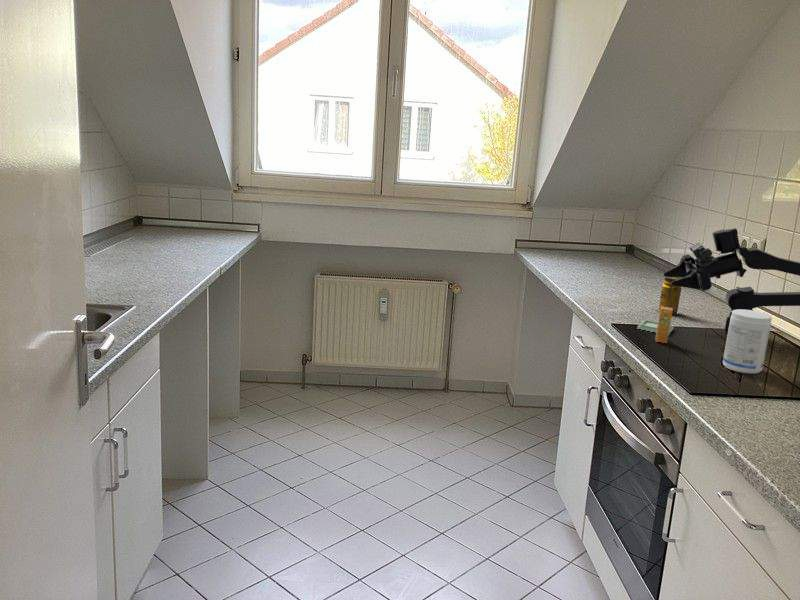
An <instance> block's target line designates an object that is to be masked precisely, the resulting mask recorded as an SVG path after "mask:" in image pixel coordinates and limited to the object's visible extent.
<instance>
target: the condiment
mask: <svg viewBox="0 0 800 600" xmlns="http://www.w3.org/2000/svg"><path fill="white" fill-rule="evenodd" d="M664 277H665V276H664ZM680 278H681V277H665V278H664V281H663V284H662V286H661V293H660V297H659V298H660V299H659V302H658V305H659V306H658V310H659V312H660V309H661V306H663V307H668V308H673V311H672V316H680V317H681V316H687V315H686V314H684V313H682V312H680V311H679V312H678V314H677V311H678V310H679V304H680V299H681V292H682V287H680V286H673V285H672V281H675V280H677V279H680ZM659 312H658V313H659ZM676 314H677V315H676Z"/></svg>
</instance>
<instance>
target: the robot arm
mask: <svg viewBox="0 0 800 600" xmlns="http://www.w3.org/2000/svg"><path fill="white" fill-rule="evenodd" d="M738 235H739V232H738V228H736V227H735V228H734V227H733V228H729V229H719V230H717V231H714V232H712V238H713V241H714V242H713V243H714V247H715V250H716V252H720V254H721V255H720V256H713V251H712V250H711V249H710V248H709V247H708V248H705V247H704V245H703V244H702V243H700V242H696V243H695V244H693V245H691V246H690V247H689V250H690V251H691V252H692V253H693V255H694V256H695V258H694V257H693V256H691V255H690V254H685V255H682V256H681V258H680V261H679V263H678V264H677V265H675V266H674V267H672V268H670V269H669V270H666V271H665V272H664V273H663V276H664V277H676V278H680V279H677V280H675V281H672V285H673V286H680V287H681V288H688V289H694V290H698V291H700V290H701V291H702V292H705V291H708V290H710V289H711V288H712V280H711V279H713V278H715V279H717V280H718V279H721V278H722V277H721V276H724V275H728V274H732V273H736V276H738V277H739V278H744V276H745V273H746V272H747V269H746V268H744V266H743V263H744V265H746V266H747V267H748V268H750V269H752V270H762V271H763V270H764V271H769V270H772V271H773V270H774V271H778V272H783V273H787V274H792V275H795V276H799V277H800V262H799V261H795V260H791V259H789V258H783V257H779V256H776V255H773V254H771V253H770V252H767V251H764V250H762V249H760V248H758V247H749V248H748V247H745V246H744V245H742V244H740V242H739V241H740V240H739V236H738ZM737 253H738V254H739V255H740V256H741V258H739V256H738V254H737ZM724 299H725V303H726V304H727V305H728V307H729V308H730V310H731V311H730V312H729V316H727V317H726V319H725V321H726V322H725V327H724V331H725V334H726V335H728V329H729V323H730V318H731V315H732V311H733V310H737V309H744V310H752V311H754V310H753V309H756V308H760V307H800V291H795V292H794V291H784V292H780V291H779V292H778V291H775V292H772V291H771V292H756V291H755V290H754V289H753V287H751V286H745V287H744V286H743V287H739V286H736V288H732V289H730V290H729V291H728V292H727V293H726V294H725V298H724Z"/></svg>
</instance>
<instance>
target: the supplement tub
mask: <svg viewBox="0 0 800 600" xmlns="http://www.w3.org/2000/svg"><path fill="white" fill-rule="evenodd" d="M731 312H732V315H731V318H730V323H729V329H728V334H726V340H725V347H724V352H723V358H722V364H723V366H724V367H725V368H727V369H728V370H731V371H734V372H736V373H737V372H738V373H742V374H750V375H751V374H754V375H755V374H759V373H761V372H762V370H763V368H764V364H765V363H764V362H765V358H766V352H767V348H768V342H769V338H770V337H769V336H770V333H771V327H772V320H773V319H772V318H773V317H772V315H770V314H768V313H765V312H761V311H757V310H753V311H752V310H744V309H737V310H733V311H731Z"/></svg>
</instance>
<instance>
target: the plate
mask: <svg viewBox="0 0 800 600" xmlns="http://www.w3.org/2000/svg"><path fill="white" fill-rule="evenodd" d="M657 327H658V321H654V320H648V319H643V321H642V322H640V324H638V325H637V328H636V329H641V330H640V331H642V330H646V331H645V332H647V331H650V332H649V333H652V332H655V333H654V334H656V332H657ZM674 328H675V327H674V326H673V324H670V328H669V333H668V336H670V334H671V333H672V331H673V330H674ZM670 332H671V333H670Z"/></svg>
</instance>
